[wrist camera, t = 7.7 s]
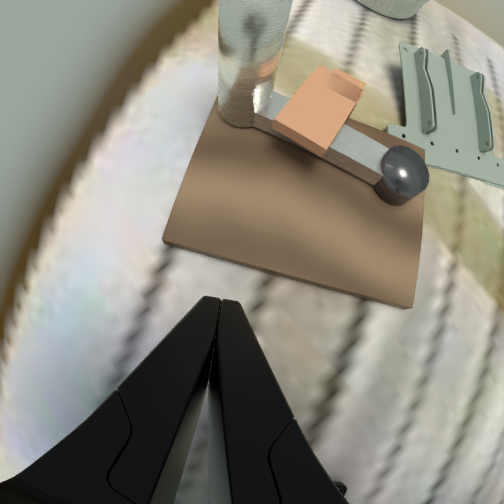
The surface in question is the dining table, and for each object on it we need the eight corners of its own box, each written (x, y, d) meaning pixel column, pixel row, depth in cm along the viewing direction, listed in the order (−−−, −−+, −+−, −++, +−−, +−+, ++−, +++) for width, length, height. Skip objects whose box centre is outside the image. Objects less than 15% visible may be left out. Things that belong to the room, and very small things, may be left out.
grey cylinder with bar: (417, 175, 21) (509, 94, 11) (407, 213, 21) (514, 139, 10) (232, 83, 22) (241, -40, 11) (209, 115, 21) (204, -16, 10)
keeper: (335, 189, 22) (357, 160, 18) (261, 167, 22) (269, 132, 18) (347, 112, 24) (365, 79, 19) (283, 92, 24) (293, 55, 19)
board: (405, 308, 20) (412, 307, 20) (164, 243, 20) (161, 239, 19) (419, 154, 23) (424, 149, 22) (223, 91, 23) (223, 83, 22)
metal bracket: (386, 19, 20) (502, 70, 21) (364, 47, 26) (472, 86, 27) (397, 168, 21) (517, 199, 22) (367, 178, 27) (481, 201, 28)
